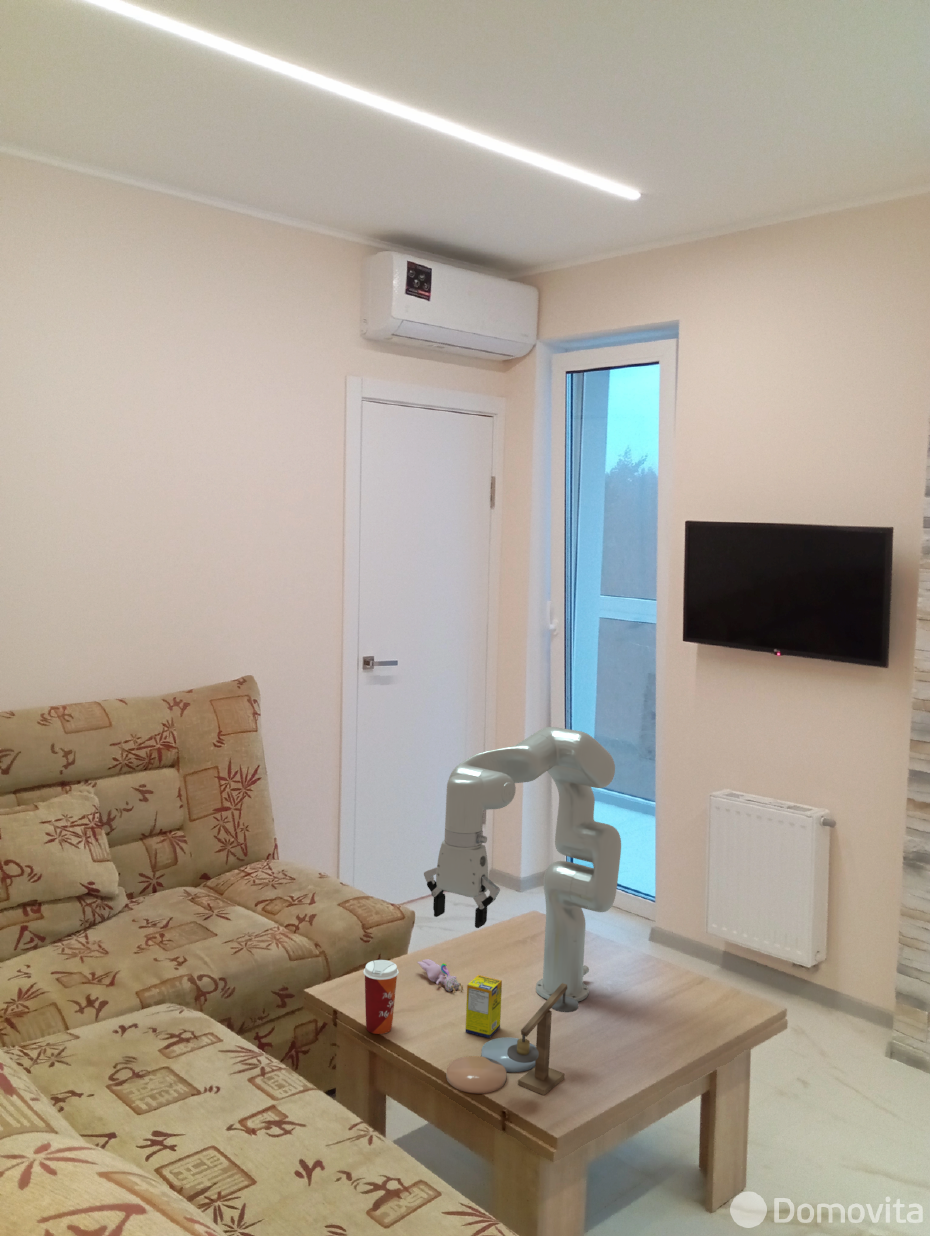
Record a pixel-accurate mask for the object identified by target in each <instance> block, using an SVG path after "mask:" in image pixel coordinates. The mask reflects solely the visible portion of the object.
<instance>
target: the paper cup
mask: <svg viewBox="0 0 930 1236" xmlns="http://www.w3.org/2000/svg"><path fill="white" fill-rule="evenodd" d="M362 973H363V975H364V992H365V993H364V994H365V995H364V998H365V999H364V1001H365V1002H364V1003H365V1026H366V1027H365V1028H366V1031H367V1032H369V1033H370V1034H375V1035H385V1034H387V1033H390V1031H391V1030H392V1027H393V1021H394V1020H393V1019H394V1009H395V999H396V989H397V981H398V979H397V978H398V975H399V969H398V965H397V964H396V963H395V962H393V961H391V960H386V959H377V960H376V959H375V960H371V961H369V962H367V963H366V964H365V968H364V969H363V972H362Z"/></svg>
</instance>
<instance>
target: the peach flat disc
mask: <svg viewBox="0 0 930 1236" xmlns="http://www.w3.org/2000/svg"><path fill="white" fill-rule="evenodd" d="M486 1058H487V1057H486ZM486 1058H485V1057H481V1056H480V1055H467V1056H462V1057H458V1058H455V1059H454V1060H452V1061H450V1063H449V1064H448V1065H447V1067H446V1073H445V1075H446V1080H447V1082H448V1084H450V1085H451V1086H452V1087H453V1088H455V1090H456V1089H457V1090H458V1091H461V1092H464V1093H468V1094H480V1095H481V1094H488V1093H492V1092H496V1091H498V1090H500V1089H502V1087H503V1086H504V1085H505V1083H506V1082H507V1072H506V1069H505V1068H504V1066H503V1065H502V1064H500V1063H499V1062H497V1061H496V1062H495V1060H492V1062H491V1059H490V1058H488V1059H489V1060H490V1061H489V1060H488V1059H486ZM493 1061H494V1063H493ZM497 1063H498V1064H497Z"/></svg>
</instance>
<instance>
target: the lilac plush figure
mask: <svg viewBox="0 0 930 1236" xmlns="http://www.w3.org/2000/svg"><path fill="white" fill-rule="evenodd" d="M416 963H417V964H418V965H419V966H420V967H421V968H422V969H423V971H425V972H426V975H427V977H428V978H427V979H429V980H430V981H431V982H434V983H436V986H437V985H439V983H441V984H442V985H444V989H445V990H446V992H449V993H451V992H452V994H453V995H455V993H457V992H456V991H457V990H458V989H459V987H460V990H459V991H460V992H464V985H462V982H458V980H457V976H455V975H451V974H450V971H449V968H448V967H447V964H446V963H445V962H443V963H442V964H441V965H440V964H438V963H437V962H435V961H434V960H432V959H428V958H427V959H422V960H421V961H417V962H416Z"/></svg>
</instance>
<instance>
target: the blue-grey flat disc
mask: <svg viewBox="0 0 930 1236" xmlns="http://www.w3.org/2000/svg"><path fill="white" fill-rule="evenodd" d="M519 1039H520V1038H518V1037H505V1036H504V1037H498V1038H492V1039H491V1040H488V1041H486V1042H485V1043H484V1044H483V1045H482V1047H481V1057H485V1058H486V1057H487V1058H486V1059H488V1058H490V1059H491V1062H492V1060H495V1062H496V1061H497V1062H499V1063H500V1064H502V1065H503V1066H504V1068H505V1069H506V1073H522V1072H527V1071H530V1070H531V1069H533V1068H534V1067H535V1061H533V1062H529V1063H521V1062H516V1061H514V1060H512V1059H510V1058H509V1057H508V1055H507V1051H508V1048H509V1047H510V1046H512V1045H515V1044H517V1041H518V1040H519ZM530 1045H531V1046H533V1047H535V1048H536V1045H534V1044H533V1043H531V1042H530ZM488 1060H489V1059H488ZM489 1061H490V1060H489ZM493 1063H494V1061H493ZM497 1064H498V1063H497Z"/></svg>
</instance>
